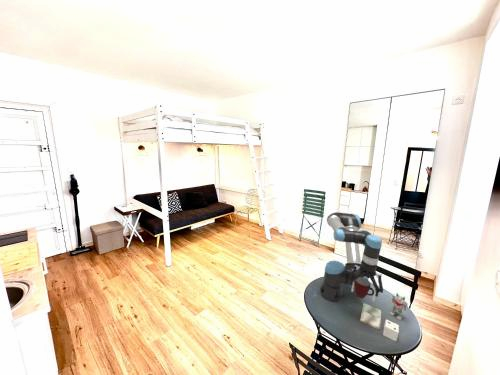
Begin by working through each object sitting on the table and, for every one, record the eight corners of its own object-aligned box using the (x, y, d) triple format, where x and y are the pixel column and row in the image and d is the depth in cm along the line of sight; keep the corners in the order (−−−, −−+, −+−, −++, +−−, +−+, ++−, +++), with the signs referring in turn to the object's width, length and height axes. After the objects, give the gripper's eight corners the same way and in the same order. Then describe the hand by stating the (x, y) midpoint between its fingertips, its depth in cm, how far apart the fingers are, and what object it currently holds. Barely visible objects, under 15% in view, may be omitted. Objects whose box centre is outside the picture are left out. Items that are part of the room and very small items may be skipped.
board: (360, 320, 120) (360, 319, 120) (363, 304, 133) (363, 302, 133) (379, 330, 115) (380, 328, 114) (380, 311, 128) (381, 310, 127)
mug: (371, 294, 121) (374, 280, 119) (373, 304, 114) (377, 289, 111) (351, 289, 125) (354, 275, 122) (353, 298, 117) (355, 283, 115)
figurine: (385, 309, 129) (390, 289, 126) (397, 310, 129) (403, 290, 126) (394, 320, 122) (399, 299, 118) (407, 320, 122) (412, 300, 118)
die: (383, 335, 112) (385, 326, 110) (383, 327, 116) (386, 319, 115) (396, 341, 108) (398, 332, 107) (396, 333, 113) (398, 324, 111)
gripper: (346, 256, 118) (340, 289, 123) (393, 274, 104) (384, 309, 109) (349, 251, 124) (343, 282, 129) (394, 267, 110) (386, 301, 115)
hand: (362, 295), depth 119 cm, fingers closed on mug, 10 cm apart
